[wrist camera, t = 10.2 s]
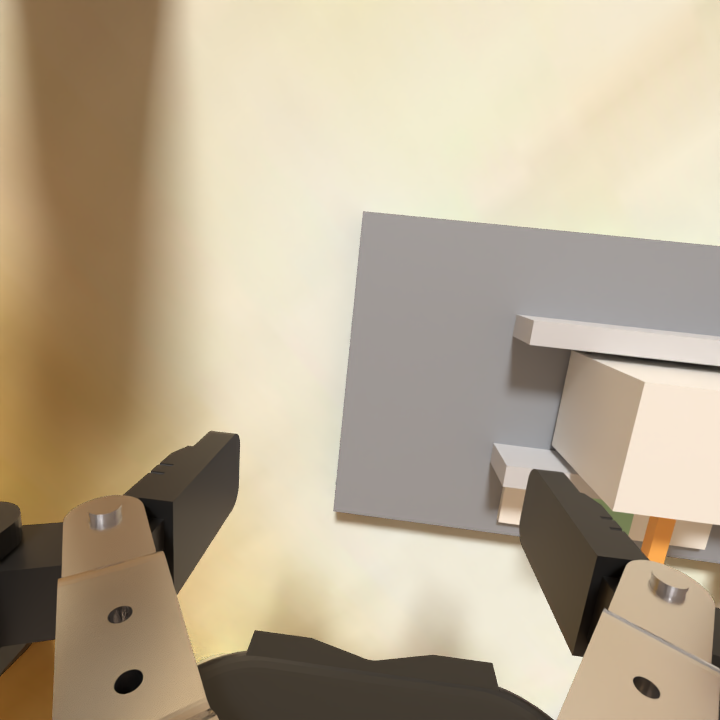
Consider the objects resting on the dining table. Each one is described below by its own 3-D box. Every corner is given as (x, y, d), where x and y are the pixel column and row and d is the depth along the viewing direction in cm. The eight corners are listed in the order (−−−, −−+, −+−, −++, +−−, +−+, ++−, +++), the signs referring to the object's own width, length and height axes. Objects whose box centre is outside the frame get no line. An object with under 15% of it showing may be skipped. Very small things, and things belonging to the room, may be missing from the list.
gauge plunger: (539, 504, 25) (593, 589, 19) (571, 350, 23) (644, 382, 17) (677, 522, 25) (784, 616, 18) (722, 367, 23) (861, 406, 16)
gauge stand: (336, 498, 28) (308, 609, 19) (364, 214, 24) (347, 179, 15) (811, 562, 27) (1034, 717, 17) (918, 269, 23) (1277, 267, 14)
